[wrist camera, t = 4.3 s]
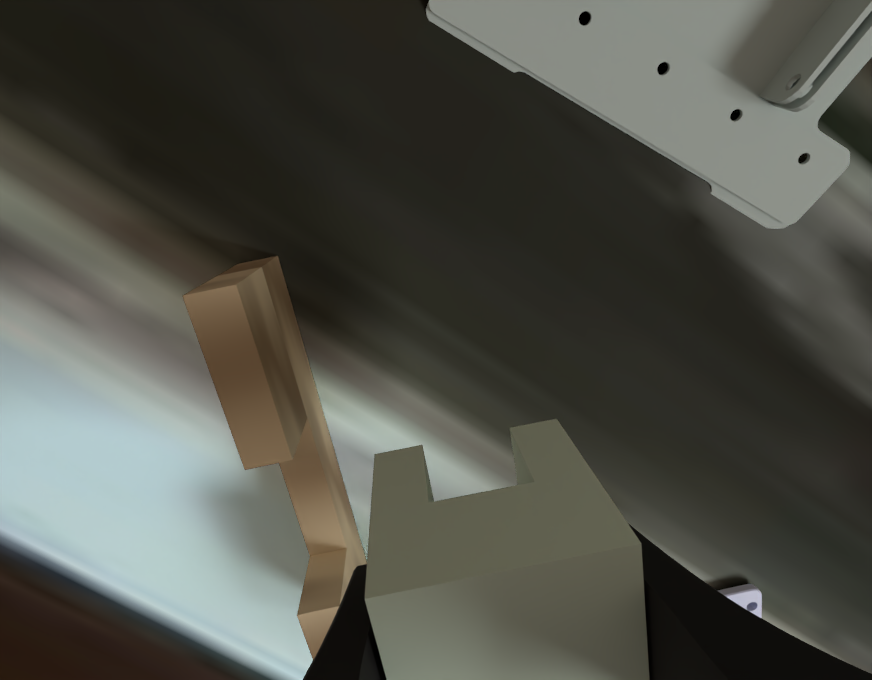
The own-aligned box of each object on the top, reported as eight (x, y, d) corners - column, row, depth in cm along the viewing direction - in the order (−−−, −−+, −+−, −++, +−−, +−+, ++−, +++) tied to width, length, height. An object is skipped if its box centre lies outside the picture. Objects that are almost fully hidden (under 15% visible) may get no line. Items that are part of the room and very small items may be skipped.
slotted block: (571, 553, 15) (652, 722, 10) (406, 586, 15) (412, 772, 10) (556, 418, 14) (641, 543, 9) (374, 454, 14) (364, 598, 9)
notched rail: (379, 606, 23) (376, 719, 18) (349, 613, 23) (337, 728, 18) (277, 255, 18) (236, 284, 13) (238, 263, 18) (182, 295, 13)
